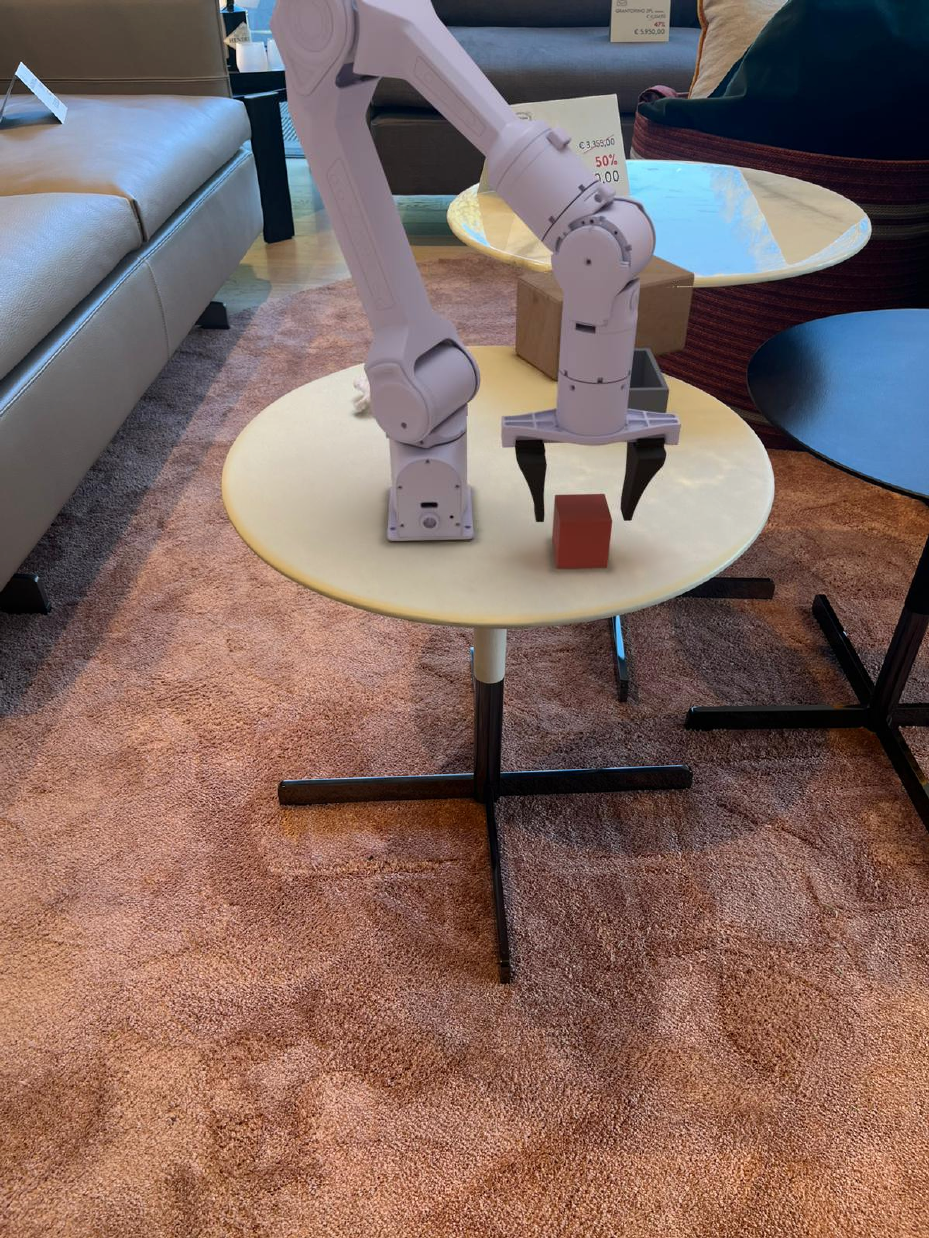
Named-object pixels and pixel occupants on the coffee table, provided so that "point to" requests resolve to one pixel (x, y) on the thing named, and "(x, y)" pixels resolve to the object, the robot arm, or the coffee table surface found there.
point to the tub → (647, 384)
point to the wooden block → (656, 320)
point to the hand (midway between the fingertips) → (582, 515)
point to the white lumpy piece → (361, 385)
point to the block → (581, 531)
